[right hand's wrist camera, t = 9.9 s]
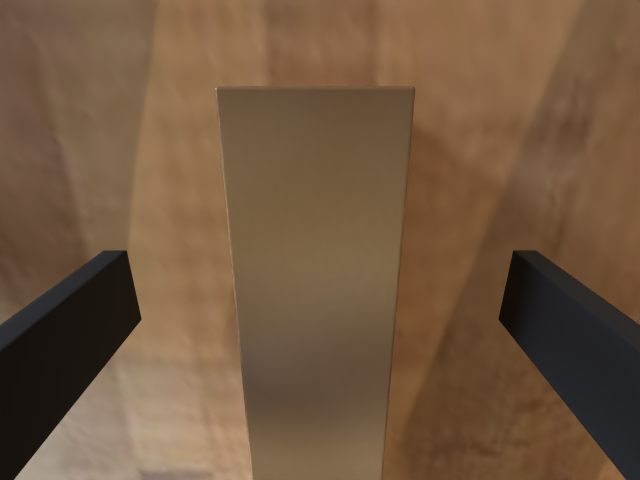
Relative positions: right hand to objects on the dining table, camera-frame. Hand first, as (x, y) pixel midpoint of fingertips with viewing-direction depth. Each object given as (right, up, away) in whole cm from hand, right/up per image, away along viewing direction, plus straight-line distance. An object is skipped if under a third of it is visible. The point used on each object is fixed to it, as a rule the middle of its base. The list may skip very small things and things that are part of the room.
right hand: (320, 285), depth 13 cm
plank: (0, -17, +13) cm, 21 cm away
